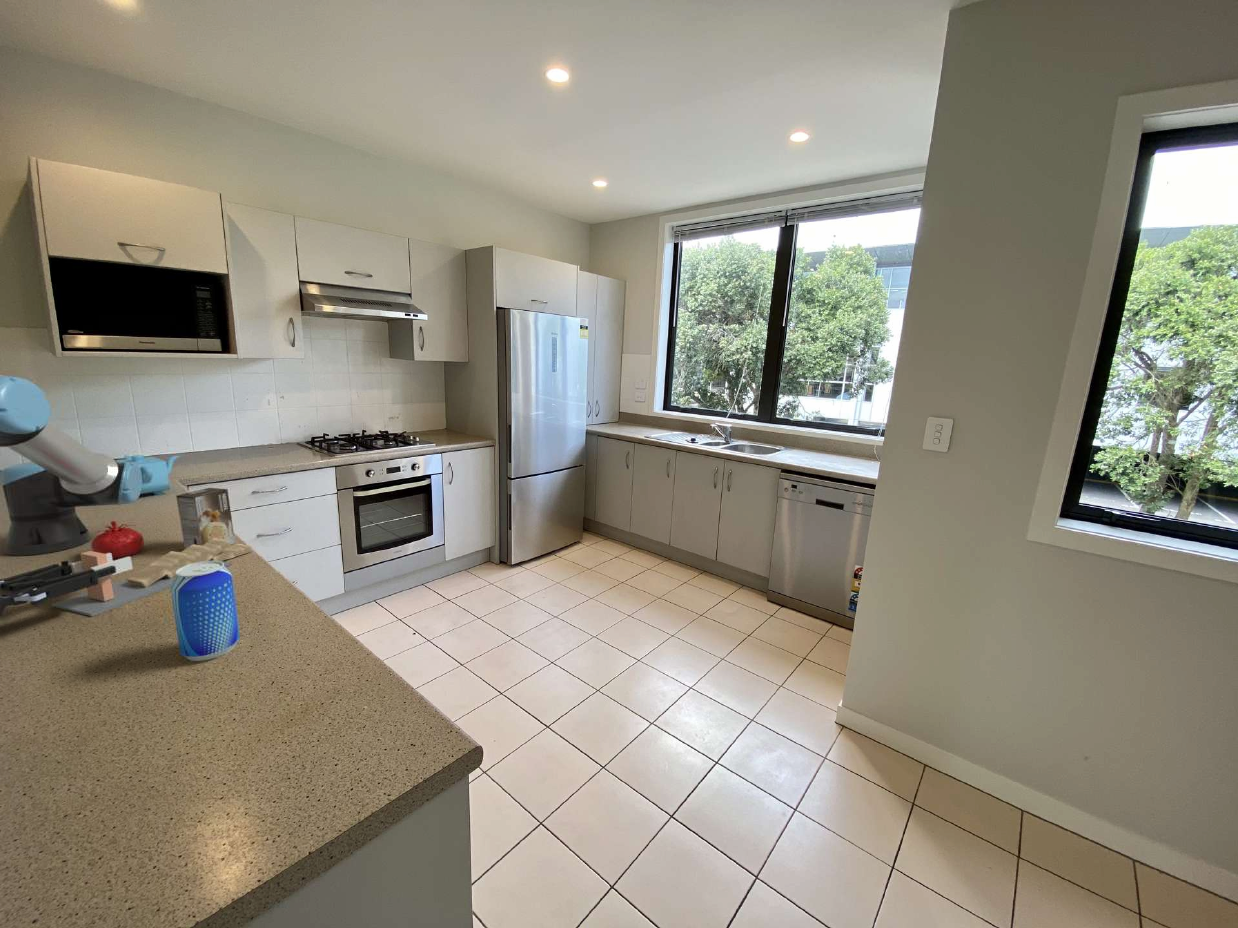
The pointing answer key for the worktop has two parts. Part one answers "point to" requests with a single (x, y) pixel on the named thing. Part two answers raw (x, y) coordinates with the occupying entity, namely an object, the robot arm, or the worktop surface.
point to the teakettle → (152, 472)
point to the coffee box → (205, 516)
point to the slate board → (121, 596)
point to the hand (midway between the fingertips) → (120, 560)
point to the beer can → (204, 610)
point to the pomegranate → (118, 541)
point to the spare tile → (104, 587)
